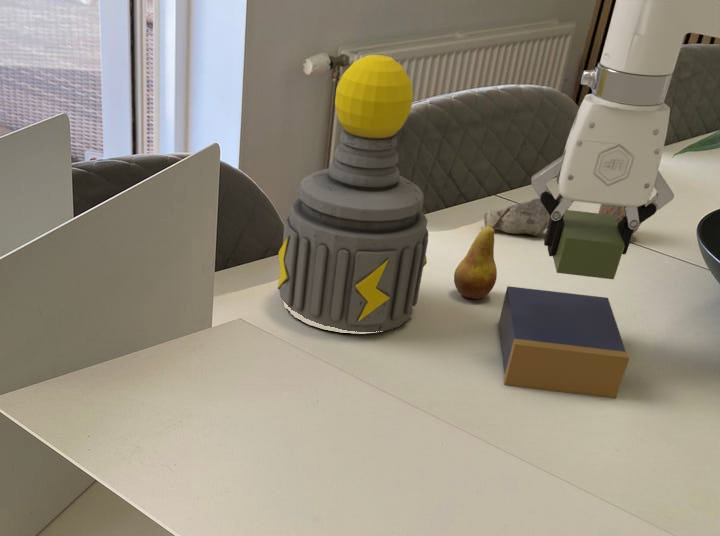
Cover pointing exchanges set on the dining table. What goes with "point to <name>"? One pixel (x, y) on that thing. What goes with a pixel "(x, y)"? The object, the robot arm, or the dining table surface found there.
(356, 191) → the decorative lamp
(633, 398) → the dining table surface
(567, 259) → the green rectangular block
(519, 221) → the stone
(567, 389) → the blue and tan box
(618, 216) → the vase
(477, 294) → the fruit
